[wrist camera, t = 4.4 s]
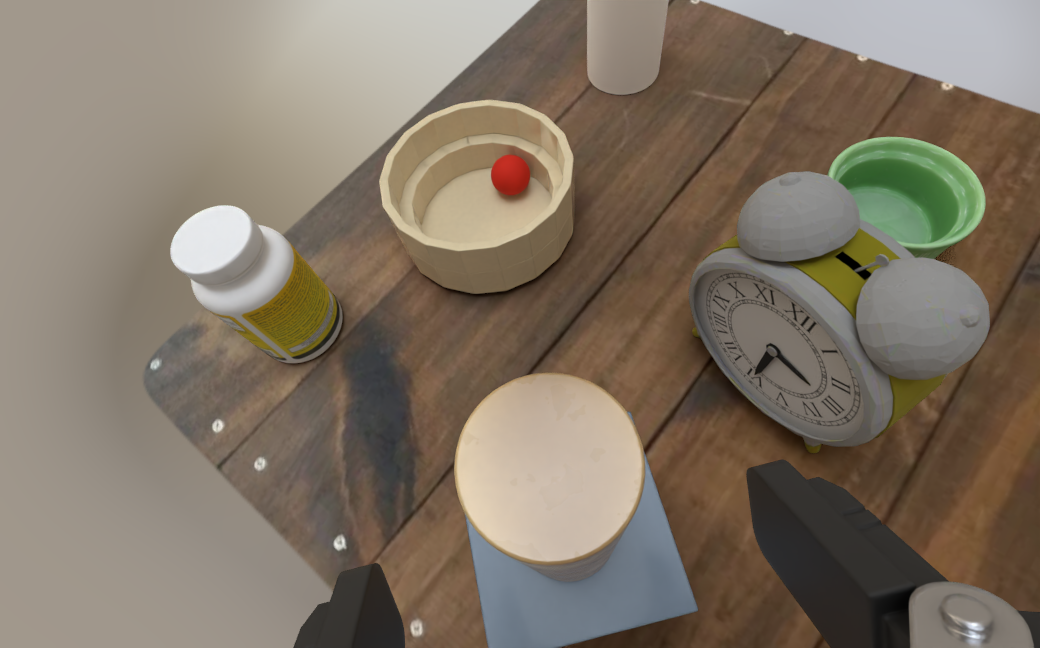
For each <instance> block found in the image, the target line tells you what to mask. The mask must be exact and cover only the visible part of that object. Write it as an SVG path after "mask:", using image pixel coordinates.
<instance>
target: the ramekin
mask: <svg viewBox="0 0 1040 648" xmlns="http://www.w3.org/2000/svg"><path fill="white" fill-rule="evenodd" d="M827 176H829V177H831V178H832V179H834V180H836V181H837V182H839V183H841V184H842V185H843V186H844V187H845V188H846V189H847V190H848V191H849V192H850V193H851V195H852V196H853V197H854V200H855V202H856V204H857V207H858V209H859V215H860V219H861V220H864V221H866V222H868V223H870V224H872V225H873V226H875V227H876V228H878V229H880V230H881V231H883V232H884V233H886V234H888V235H889V236H891V237H892V238H893V239H895V240H896V241H897V242H898V243H899V244H901V245H902V246H903V247H904V248H905V249H907V250H908V251H909V252H910V253H911V254H912V255H913V256H914V257H915V258H921V257H924V258H930V259H934V258H936V257H937V256H938V255H939V254H941V253H942V252H943V251H944V250H945V249H947V248H948V247H949V246H952V245H954V244H956V243H958V242H959V241H961V240H963V239H964V238H965V237H967V236H968V235H969V234H970V233H971V232H972V231H973V230H974V229H975V228H976V227H977V225H978V224H979V223H980V221H981V219H982V217H983V214H984V211H985V194H984V191H983V188H982V185H981V183H980V181H979V180H978V178H977V176H976V175H975V173H974V172H973V171H972V170H971V169H970V168H969V167H968V166H967V165H966V164H965V163H964V162H963V161H961V160H960V159H959V158H958V157H956V156H955V155H953V154H952V153H950V152H948V151H946V150H944V149H942V148H940V147H938V146H935V145H933V144H930V143H927V142H923V141H920V140H916V139H910V138H903V137H880V138H873V139H868V140H865V141H862V142H859V143H857V144H854V145H852V146H851V147H849V148H847V149H846V150H844V151H843V152H842V153H841V154H840V155H839V156H838V157H837V158H836V159H835V160H834V162H833V163H832V165H831V167H830V169H829V172H828V175H827Z"/></svg>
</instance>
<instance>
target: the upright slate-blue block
mask: <svg viewBox="0 0 1040 648" xmlns="http://www.w3.org/2000/svg"><path fill="white" fill-rule="evenodd" d="M627 413H628V414H629V416H630V418H631V419H632V421H633V418H632V415H631V412H627ZM633 423H634V421H633ZM634 425H635V423H634ZM644 457H645V481H644V489H643V492H642V496H641V500H640V503H639V505H638V507H637V510H636V512H635V514H634V516H633V518H632V519H631V521H630V523H629V525H628V526H627V528H626V530H625V532H624V533H623V535H622V537H621V539H620V540H619V542H618V544H617V545H616V547H615V549H614V551H613V552H612V554H611V556H610V558H609V559H608V561H607V562H606V563H605V565H604V566H603V567H602V568H601V569H600V570H599V571H598V572H596V573H595V574H593V575H592V576H590V577H588V578H585V579H582V580H579V581H573V582H565V581H558V580H554V579H552V578H549V577H547V576H545V575H543V574H541V573H539V572H537V571H535V570H533V569H531V568H530V567H528V566H526V565H524V564H522V563H520V562H518V561H516V560H514V559H512V558H510V557H509V556H507V555H505V554H503V553H502V552H500V551H498V550H496V549H495V548H494V547H493V546H491V545H490V544H489V543H488V542H486V541H485V540H484V539H483V538H482V537H481V536H480V534H479V533H478V532H477V531H476V530H475V528H474V527H473V526H472V524H471V523H470V522H469V520H468V518H467V516H466V514H465V517H466V523H467V529H468V534H469V540H470V546H471V552H472V558H473V563H474V569H475V575H476V581H477V586H478V592H479V598H480V604H481V609H482V615H483V621H484V627H485V633H486V638H487V644H488V648H560V647H564V646H567V645H571V644H575V643H579V642H583V641H586V640H590V639H594V638H598V637H602V636H605V635H609V634H613V633H617V632H621V631H624V630H628V629H632V628H636V627H640V626H644V625H647V624H651V623H655V622H659V621H663V620H666V619H670V618H674V617H678V616H682V615H685V614H689V613H693V612H697V611H698V607H697V604H696V601H695V599H694V596H693V593H692V590H691V587H690V584H689V581H688V578H687V575H686V572H685V569H684V566H683V563H682V561H681V558H680V555H679V552H678V549H677V546H676V543H675V540H674V537H673V534H672V531H671V528H670V526H669V523H668V520H667V517H666V514H665V511H664V508H663V505H662V502H661V499H660V496H659V493H658V491H657V488H656V485H655V482H654V479H653V476H652V473H651V470H650V467H649V464H648V461H647V458H646V456H645V453H644Z"/></svg>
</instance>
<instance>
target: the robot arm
mask: <svg viewBox="0 0 1040 648" xmlns="http://www.w3.org/2000/svg"><path fill="white" fill-rule="evenodd" d="M747 484H748V491H749V499H750V507H751V515H752V522H753V529H754V533H755V537H756V539H757V542H758V545H759V547H760V549H761V551H762V553H763V555H764V556H765V558H766V559H767V561H768V562H769V564H770V565H771V566H772V568H773V569H774V570H775V572H776V573H777V575H778V576H779V577H780V579H781V580H782V581H783V583H784V584H785V585H786V587H787V588H788V590H789V591H790V592H791V594H792V595H793V596H794V598H795V599H796V601H797V602H798V603H799V605H800V606H801V607H802V609H803V610H804V611H805V613H806V614H807V616H808V617H809V618H810V620H811V621H812V622H813V624H814V625H815V626H816V628H817V629H818V631H819V632H820V633H821V635H822V636H823V637H824V639H825V640H826V642H827V643H828V644H829V646H830V647H831V648H1040V612H1027V611H1018V610H1015V609H1014V608H1013V607H1012V606H1011V605H1009V604H1008V603H1006V602H1005V601H1004V600H1002V599H1001V598H999V597H997V596H995V595H993V594H992V593H989V592H987V591H985V590H983V589H980V588H977V587H974V586H971V585H967V584H963V583H957V582H949V581H948V580H947V579H946V578H945V577H943V576H942V575H941V574H940V573H939V572H938V571H937V570H935V569H934V568H933V567H932V566H931V565H930V564H929V563H928V562H926V561H925V560H924V559H923V558H922V557H921V556H920V555H919V554H917V553H916V552H915V551H914V550H913V549H912V548H911V547H910V546H908V545H907V544H906V543H905V542H904V541H903V540H902V539H901V538H899V537H898V536H897V535H896V534H895V533H894V532H893V531H892V530H890V529H889V528H888V527H887V526H886V525H882V524H881V521H880V520H879V519H878V518H877V517H876V516H875V515H873V514H872V513H871V512H870V511H869V510H866V509H865V508H864V506H863V505H862V504H861V503H860V502H859V501H858V500H857V499H855V498H854V497H853V496H852V495H851V494H850V493H849V492H848V491H846V490H845V489H844V488H841V487H839V486H837V485H835V484H833V483H831V482H828V481H826V480H824V479H822V478H820V477H816V478H812V479H809V480H806V479H805V478H804V477H803V476H802V475H801V474H800V473H799V472H798V471H797V470H796V469H795V468H794V467H793V466H792V465H791V464H790V463H789V462H787V461H786V460H779V461H775V462H771V463H767V464H763V465H759V466H755V467H751V468H749V469H748V470H747ZM294 648H405V635H404V628H403V623H402V619H401V616H400V613H399V611H398V608H397V606H396V603H395V601H394V598H393V596H392V593H391V591H390V588H389V585H388V583H387V580H386V578H385V575H384V573H383V570H382V568H381V567H380V565H379V564H378V563H374V564H370V565H366V566H362V567H358V568H355V569H351V570H347V571H343V572H341V573H340V574H339V576H338V579H337V582H336V585H335V588H334V591H333V594H332V597H331V600H330V602H326V603H322V604H319V605H318V606H317V607H316V609H315V610H314V611H313V613H312V614H311V615H310V616H309V618H308V619H307V621H306V622H305V623H304V624H303V626H302V627H301V629H300V632H299V634H298V637H297V640H296V642H295V645H294Z"/></svg>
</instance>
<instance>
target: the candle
mask: <svg viewBox="0 0 1040 648" xmlns="http://www.w3.org/2000/svg"><path fill="white" fill-rule="evenodd" d="M668 1H669V0H587V74H588V78H589V80H590V82H591V83H592V85H594V86H595V87H596V88H598V89H599V90H601V91H604V92H606V93H610V94H615V95H627V94H633V93H637V92H639V91H642V90H644V89H646V88H647V87H649V86H650V85H651V84H652V83H653V82H654V81H655V80H656V78H657V76H658V74H659V66H660V59H661V52H662V45H663V37H664V30H665V23H666V16H667V8H668Z"/></svg>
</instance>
